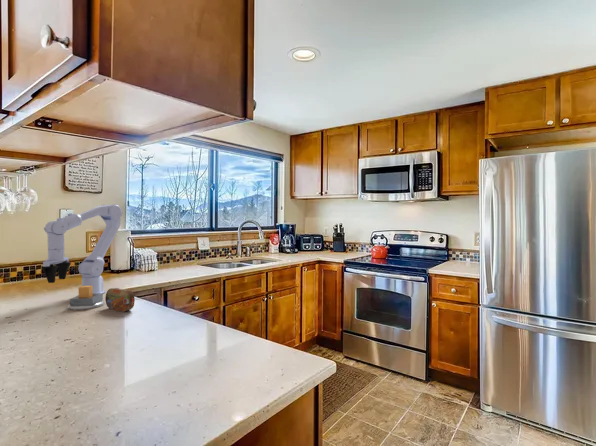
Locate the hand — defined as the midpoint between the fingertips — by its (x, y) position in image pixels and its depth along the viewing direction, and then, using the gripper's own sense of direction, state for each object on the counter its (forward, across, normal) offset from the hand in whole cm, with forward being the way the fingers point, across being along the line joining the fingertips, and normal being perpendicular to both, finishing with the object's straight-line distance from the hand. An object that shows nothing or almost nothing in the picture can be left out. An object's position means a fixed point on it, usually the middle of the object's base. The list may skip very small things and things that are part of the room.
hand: (57, 280), depth 143 cm
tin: (+10, +14, +31) cm, 35 cm away
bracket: (+9, +6, +15) cm, 19 cm away
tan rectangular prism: (+8, +6, +15) cm, 18 cm away
